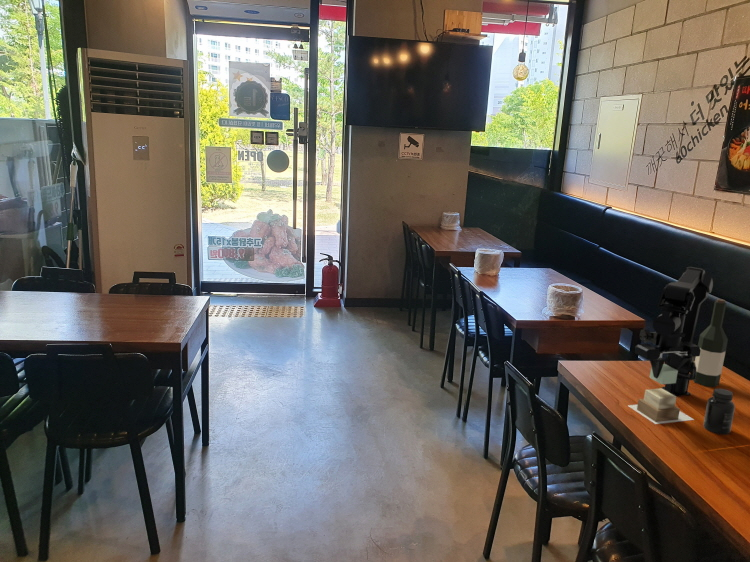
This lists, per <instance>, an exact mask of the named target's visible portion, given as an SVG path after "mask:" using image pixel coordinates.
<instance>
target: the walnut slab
mask: <svg viewBox="0 0 750 562" xmlns="http://www.w3.org/2000/svg"><path fill="white" fill-rule="evenodd" d="M637 404H638V405H637ZM637 404H636V405H637V410H638V411H640V412H641V413H643V414H644V415H646V416H647V417H649V418H650V419H652V420H653V421H655V422H661V421H670V420H678V417H679V412H680V411H681V409H680V407H678V406H676V405H675V408H666V409H657V408H655V407H653V406H652V405H650V404H649V403H647V402H645V401H644V398H639V399H638V400H637Z"/></svg>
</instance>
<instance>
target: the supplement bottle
mask: <svg viewBox="0 0 750 562" xmlns="http://www.w3.org/2000/svg"><path fill="white" fill-rule="evenodd" d="M733 397H734V393H733V392H732V391H731V390H728V389H726V388H725V389H724V388H714V389H713V392H712V396H711V397H709V398H708V399H707V402H706V408H705V413H704V418H703V419H704V420H703V428H704V429H705V430H707V431H708V432H710V433H713V434H715V435H723V436H725V435H729V434H730V433H731V431H732V426H733V419H734V413H735V411H736V405H735V403H734V402H733Z"/></svg>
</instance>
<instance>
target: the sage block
mask: <svg viewBox="0 0 750 562" xmlns="http://www.w3.org/2000/svg"><path fill="white" fill-rule="evenodd" d="M677 373H678V370H676V369H674V368H672V367H670V366H668V365H666V364H663V367H662V369H661V372H660V374H659V376H658V378H655V377H654V375H653V371H652V367H651V366H650V373H649V378H650V379H651V380H653V381H655V382H656V383H658V384H660V385H665V384H672V383H676V379H677Z"/></svg>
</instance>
